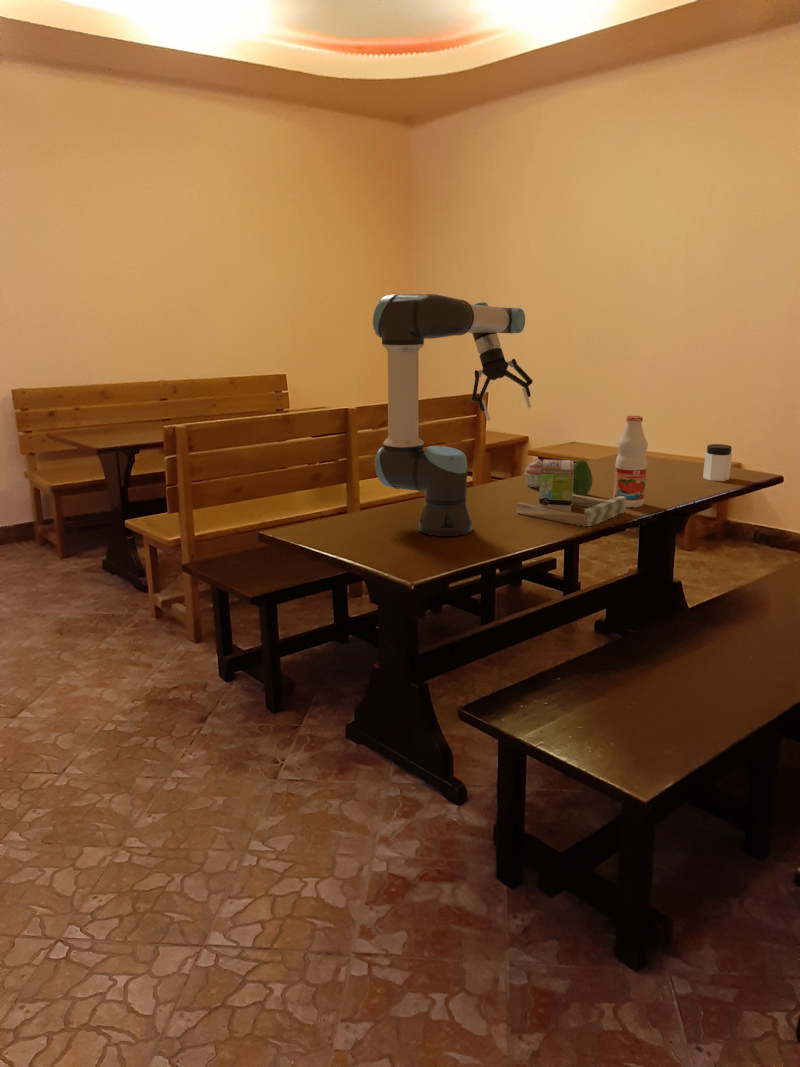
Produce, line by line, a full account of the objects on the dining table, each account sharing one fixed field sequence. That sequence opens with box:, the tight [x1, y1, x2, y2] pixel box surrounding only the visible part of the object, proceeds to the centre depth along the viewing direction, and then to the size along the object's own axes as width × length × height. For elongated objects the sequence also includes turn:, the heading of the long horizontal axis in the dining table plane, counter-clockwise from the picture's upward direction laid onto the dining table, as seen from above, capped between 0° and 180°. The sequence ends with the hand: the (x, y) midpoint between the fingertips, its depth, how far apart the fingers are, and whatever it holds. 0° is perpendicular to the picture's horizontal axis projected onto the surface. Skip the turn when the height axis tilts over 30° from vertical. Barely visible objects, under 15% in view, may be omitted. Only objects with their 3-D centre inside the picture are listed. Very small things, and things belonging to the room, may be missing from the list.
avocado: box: [572, 459, 593, 496], centre depth 275 cm, size 8×8×12 cm
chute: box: [516, 493, 627, 527], centre depth 254 cm, size 22×25×5 cm
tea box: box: [538, 459, 575, 512], centre depth 256 cm, size 15×10×15 cm
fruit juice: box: [612, 415, 649, 508], centre depth 261 cm, size 9×9×28 cm
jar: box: [702, 443, 733, 482], centre depth 298 cm, size 9×8×12 cm
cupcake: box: [523, 457, 543, 489], centre depth 288 cm, size 9×9×10 cm
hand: (509, 414), depth 268 cm, fingers open, 13 cm apart
